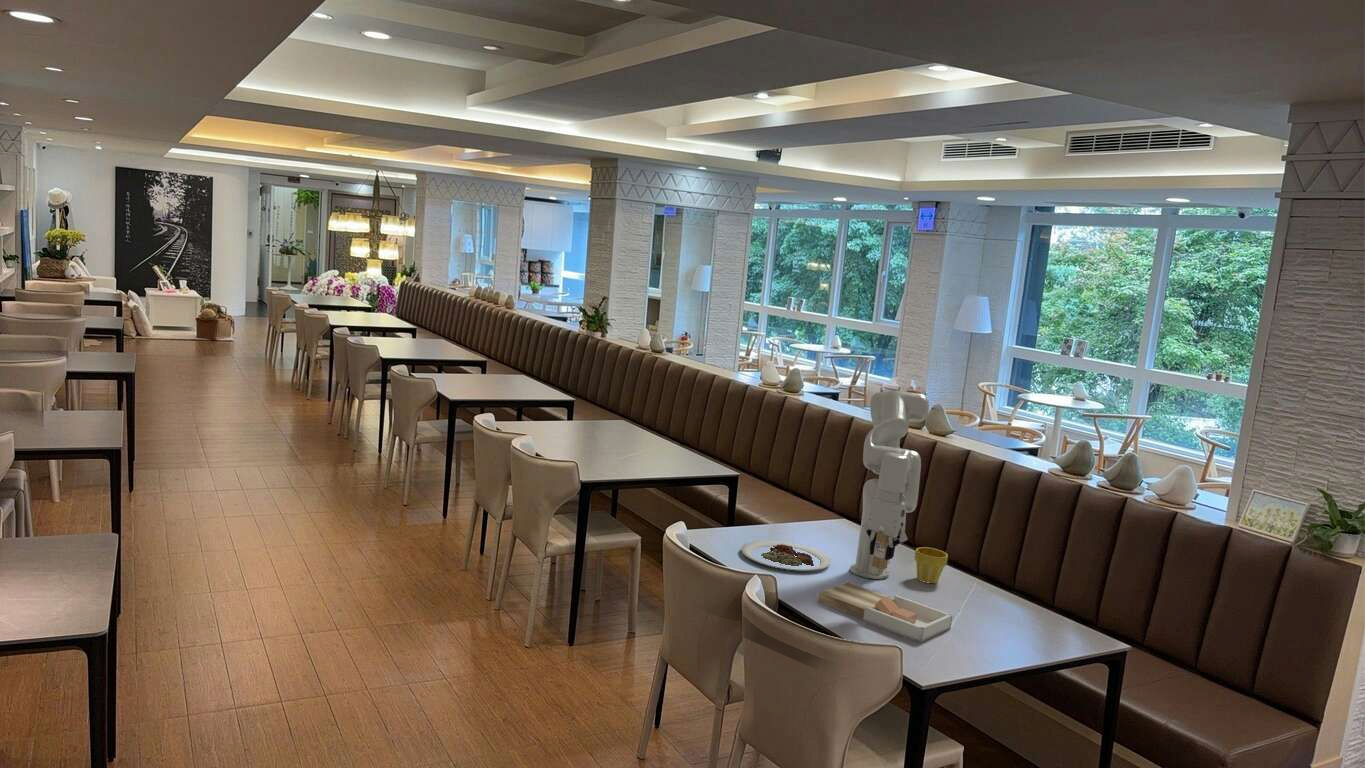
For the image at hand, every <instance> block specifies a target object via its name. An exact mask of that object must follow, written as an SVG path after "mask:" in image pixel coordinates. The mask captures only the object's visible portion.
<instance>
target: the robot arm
mask: <svg viewBox="0 0 1365 768" xmlns="http://www.w3.org/2000/svg"><path fill="white" fill-rule="evenodd" d="M869 405H870V406H869V408H870V409H869V410H870V417H871V421H872V425H873V428H872V429H871V430H870V431H869V432H868V433H867V435H866V437H865V439H864V443H863V453H862V454H863V455H862V462H863V463H862V464H863V465H864V467H865V468H866V469H867V470H870V471H872V472H873V473H874V474H876V475H879V476H878V478H872V479H868V480H867V481H866V482H865V483H864V485H863V487H862V488H863V489H862V512H861V513H862V516H861V521H860V522H861V524H860V530H859V537H858V543H857V552H856V559H855V563H852V564H851V565H850V566H849V567H850V568H849V570H850V571H851V573H852V572H853V574H854V575H856V576H858V575H859V577H861V576H862V578H867V579H870V578H871V580H872V579H873V580H884V578H885V579H887V578H889V576H890V573H889V571H888V570H887V568H886V569H877V568H875V567H873V566H872V562H873V555H874V547H875V542H876V535H877V533H878V532H879V527H880V526H883V529H884V531H882V530H880V531H882V532H883V533H884V535H886V536H888V539H889V546H888V547H887V549H886V556H885V559H886V560H888V563H887V565H889V564H890V563H891V560H893V558H894V557H895V551H896V550H895V549H896V546H898V545H900V544H901V543H904V542H906V541H908V536H907V534H906V521H907V519H906V517H907V513H908V514H909V513H912V512H914V511H915V510H916V508H917V505H918V500H919V489H920V480H921V469H922V462H921V461H922V458H921V456H920V453H918V452H917V451H916V450H911V449H906V448H901V447H900V444H901V443H900V442H901V438H903V437H906V435H907V433H908V432H909V428H910V427H909V422H911V423H922V422H924V421H926V419H927V417H928V415H929V412H930V403H929V399H928V397H927V396H926V395H925V394H923V393H917V392H910V391H909V392H908V391H902V390H890V391H881V392H880V391H879V392H876V393H874V394H873V395H872V396H871V399H870V403H869ZM898 536H899V538H898Z"/></svg>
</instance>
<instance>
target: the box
mask: <svg viewBox="0 0 1365 768" xmlns="http://www.w3.org/2000/svg"><path fill="white" fill-rule="evenodd" d="M893 599H894V603H895V604H896V605H897V606H898V607H899V608H900V609H901V608H903V609H905V610H908V611H911V612H913V613H916V614H917V618H916V622H915V623H913V624H912V623H910V622H907V621H904V620H902V619H899V618H896V617H893V616H891V615H888V614H885V613H883V612H880V611H877V610H875V609H872V608H869V607H865V610H864V617H863V619H862V622H865V623H867V624H868V623H869V624H871V625H873V626H876V627H878V628H881V629H883V630H886V631H889V632H890V633H894V634H896V635H899V636H902V637H903V638H906V639H910V640H912V641H915V642H917V643H918V644H919V643H920V644H922V643H923V642H925V641H928V640H929V639H931V638H934V637H937V635H939V634H940V635H941V634H942V633H944V632H947V631H948V630H951V628H952V622H953V617H954V616H953V614H951V613H947V612H946V611H943V610H940V609H936V608H933V607H931V606H927V605H925V604H923V603H920V602H917V601H914V600H911V599H909V598H905V597H903V596H899V595H894V598H893Z"/></svg>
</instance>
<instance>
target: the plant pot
mask: <svg viewBox="0 0 1365 768" xmlns="http://www.w3.org/2000/svg"><path fill="white" fill-rule="evenodd" d="M914 553H915V554H914V560H915V562H916V564H915V566H916V579H917V578H918V579H919V580H921V581H925V582H929V583H936V584H937V583H938V582H939V580H940V577H941V574H942V573H943V570H944V569H945V567H946V566H947V563H948V559H949V558H948V557H949V555H948V553H947V552H945V551H943V550H939V549H937V548H933V547H926V546H922V547H917V548H916V549H915V551H914ZM918 579H917V580H918ZM919 580H918V581H919ZM921 581H920V582H921Z"/></svg>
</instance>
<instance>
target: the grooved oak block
mask: <svg viewBox="0 0 1365 768" xmlns="http://www.w3.org/2000/svg"><path fill="white" fill-rule="evenodd" d="M886 597H888V595H884V594H881V593H879V592H876V591H874V590H870V589H868V588H865V587H863V586H859V585H857V584H854V583H851V582H846V583H843V584H839V585H837V586H834V587H831V588H828V589H826V590H821V591H819V593H818V598H817V599H818V600H817V602H818V603H819V604H822V605H825V606H828V607H830V608H832V609H836V610H837V611H840V612H843V613H845V614H849V615H851V616H853V617H856V618H858V619H862V620H863V617H864V610H865V607H869V608H872V609H875V610H877V611H880V610H879V609H878V608H877V607H876V606H875V605H876V603H877V602H878V601H879V600H880V599H883V598H886ZM890 598H891V599H892V600H893V601H894V599H895V598H892V597H890Z"/></svg>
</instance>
